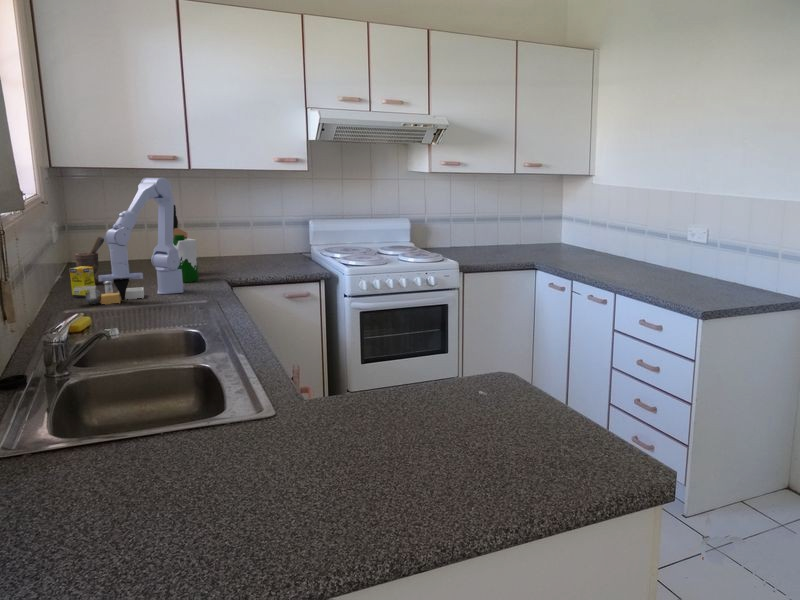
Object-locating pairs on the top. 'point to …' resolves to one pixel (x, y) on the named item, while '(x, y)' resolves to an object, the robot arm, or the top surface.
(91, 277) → the supplement box
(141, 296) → the tray
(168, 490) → the top surface
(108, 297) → the block
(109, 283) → the pin
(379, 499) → the top surface
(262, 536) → the top surface
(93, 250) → the mortar and pestle
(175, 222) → the whiskey bottle
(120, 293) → the robot arm
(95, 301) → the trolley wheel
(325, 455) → the top surface
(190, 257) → the milk carton
